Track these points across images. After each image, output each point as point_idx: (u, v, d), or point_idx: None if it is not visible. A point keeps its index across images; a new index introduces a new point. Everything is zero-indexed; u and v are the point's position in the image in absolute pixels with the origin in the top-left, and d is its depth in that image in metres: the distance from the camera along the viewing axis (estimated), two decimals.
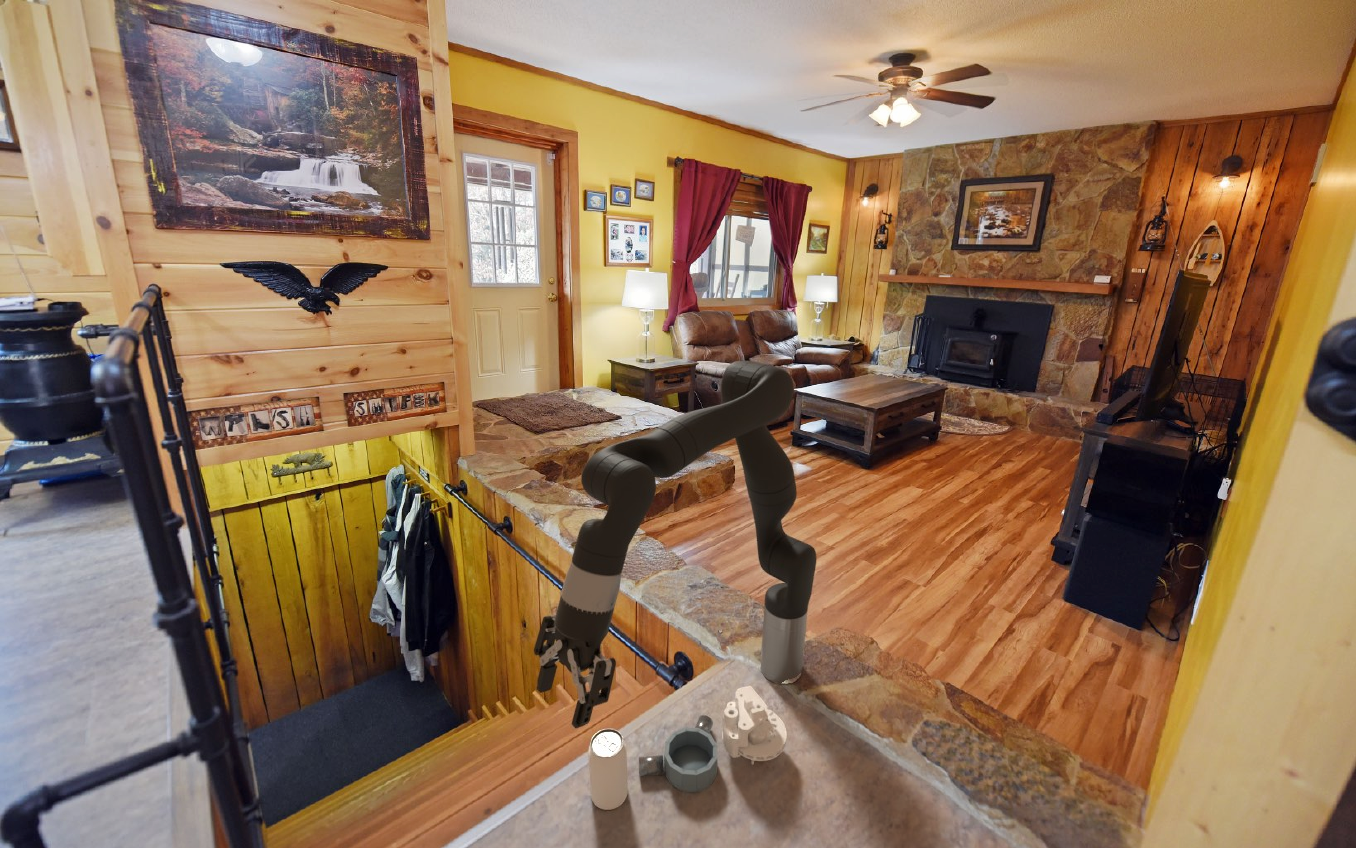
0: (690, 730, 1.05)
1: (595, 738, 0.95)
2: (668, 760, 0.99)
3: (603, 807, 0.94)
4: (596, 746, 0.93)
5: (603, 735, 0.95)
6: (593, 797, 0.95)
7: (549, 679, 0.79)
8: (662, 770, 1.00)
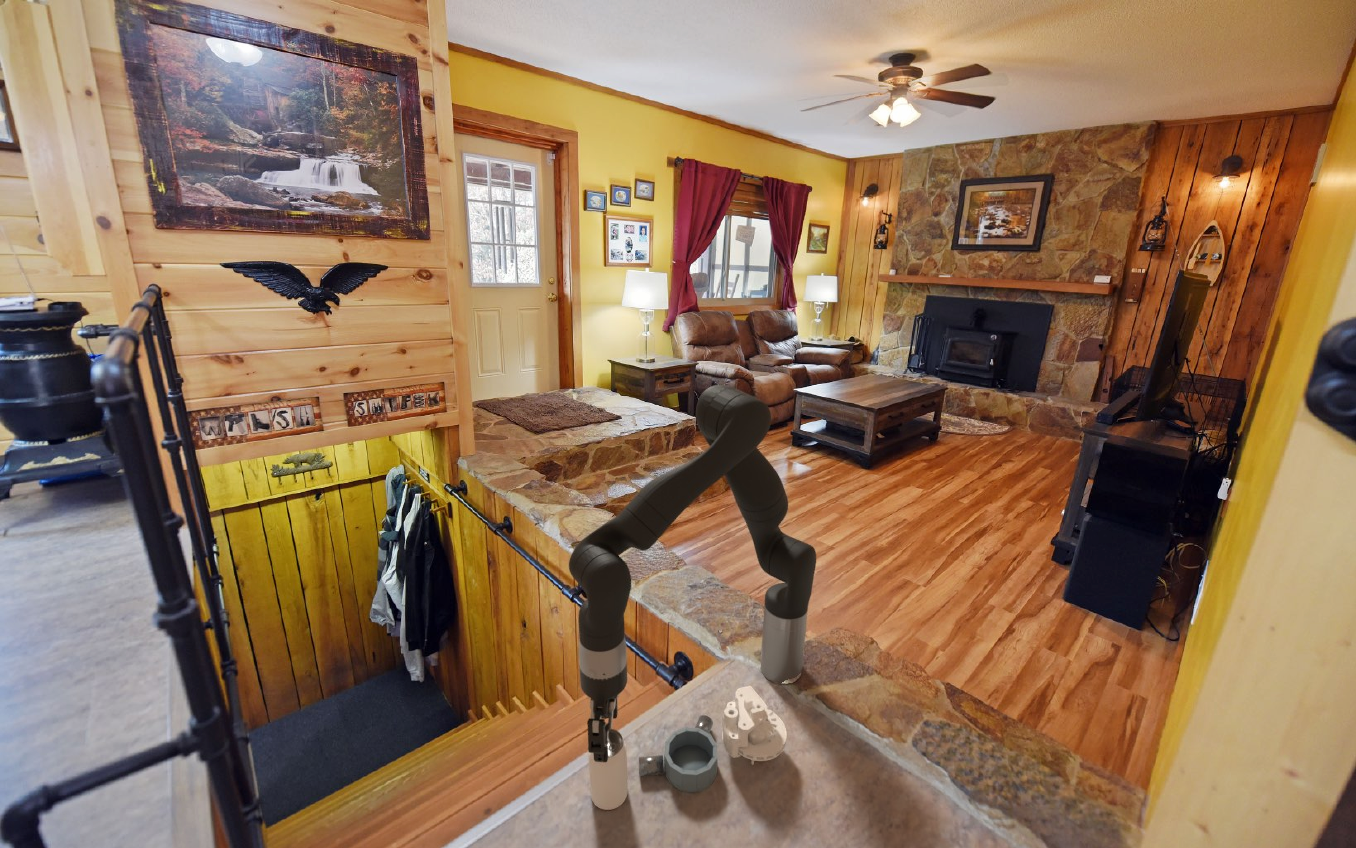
0: (690, 730, 1.05)
1: None
2: (668, 760, 0.99)
3: (603, 807, 0.94)
4: None
5: None
6: (593, 797, 0.95)
7: None
8: (662, 770, 1.00)
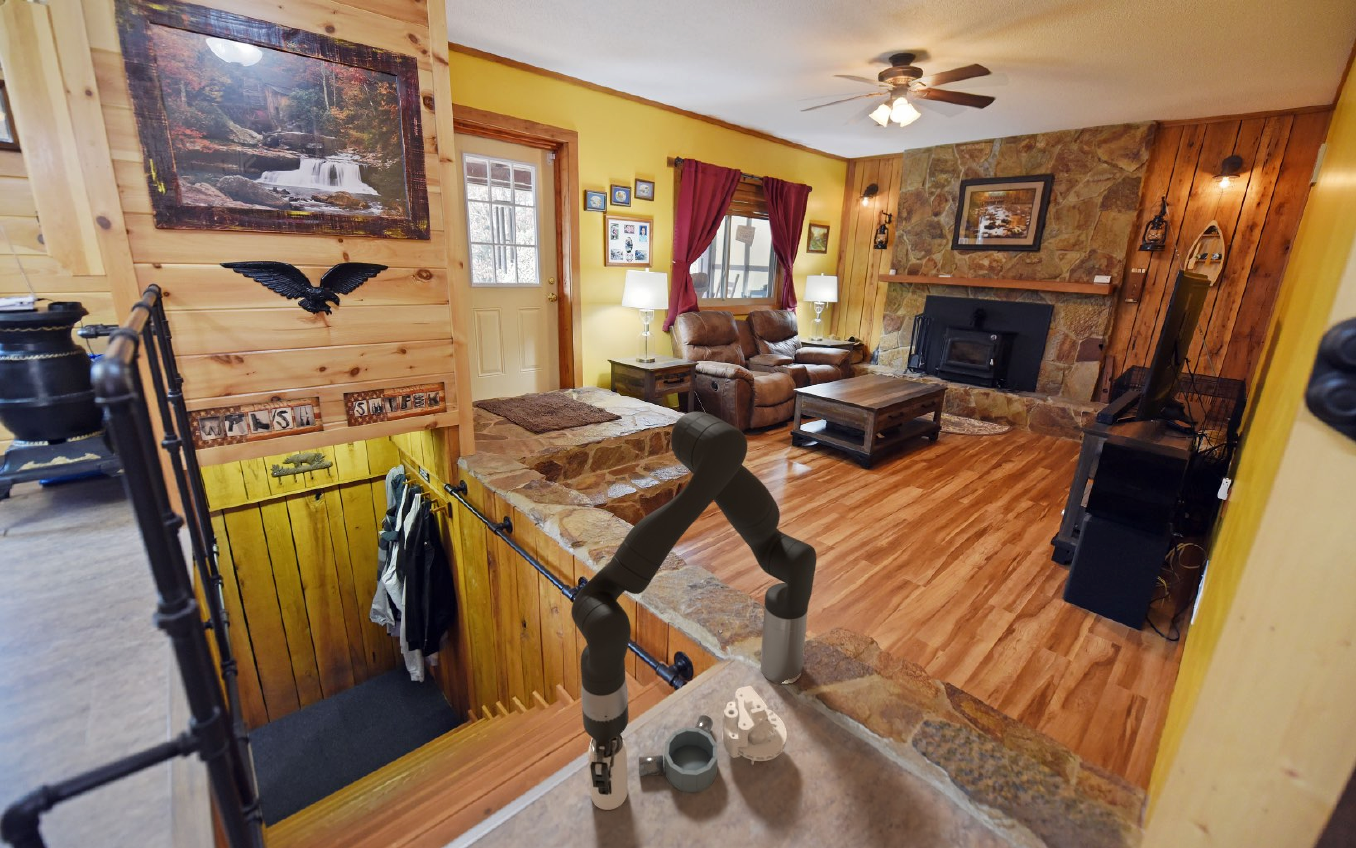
0: (690, 730, 1.05)
1: None
2: (668, 760, 0.99)
3: (603, 807, 0.94)
4: None
5: None
6: (593, 797, 0.95)
7: None
8: (662, 770, 1.00)
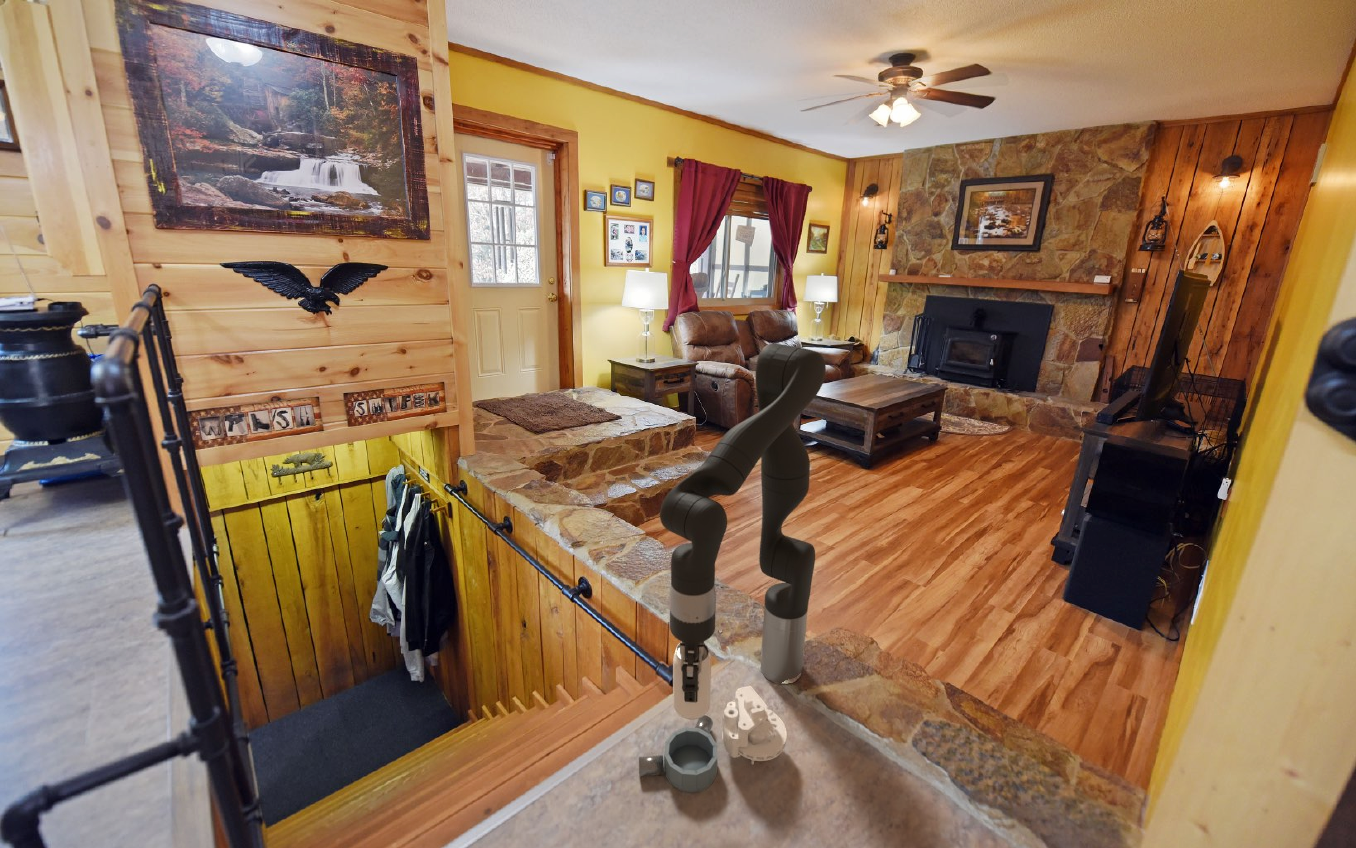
0: (690, 730, 1.05)
1: (679, 647, 0.94)
2: (668, 760, 0.99)
3: (688, 716, 0.94)
4: None
5: None
6: (677, 707, 0.95)
7: None
8: (662, 770, 1.00)
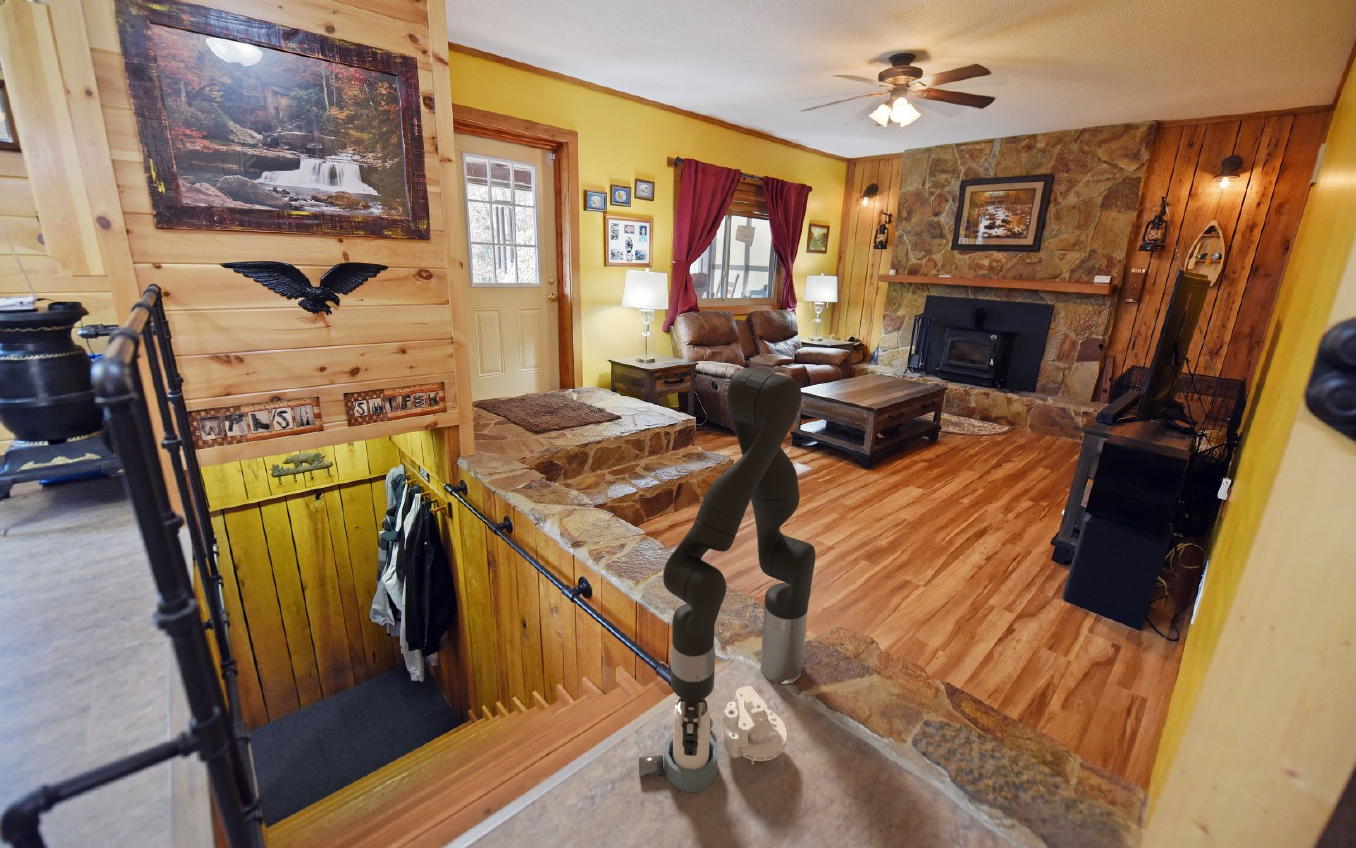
0: None
1: (679, 702, 0.98)
2: (668, 760, 0.99)
3: (687, 768, 0.97)
4: None
5: None
6: (677, 759, 0.98)
7: None
8: (662, 770, 1.00)
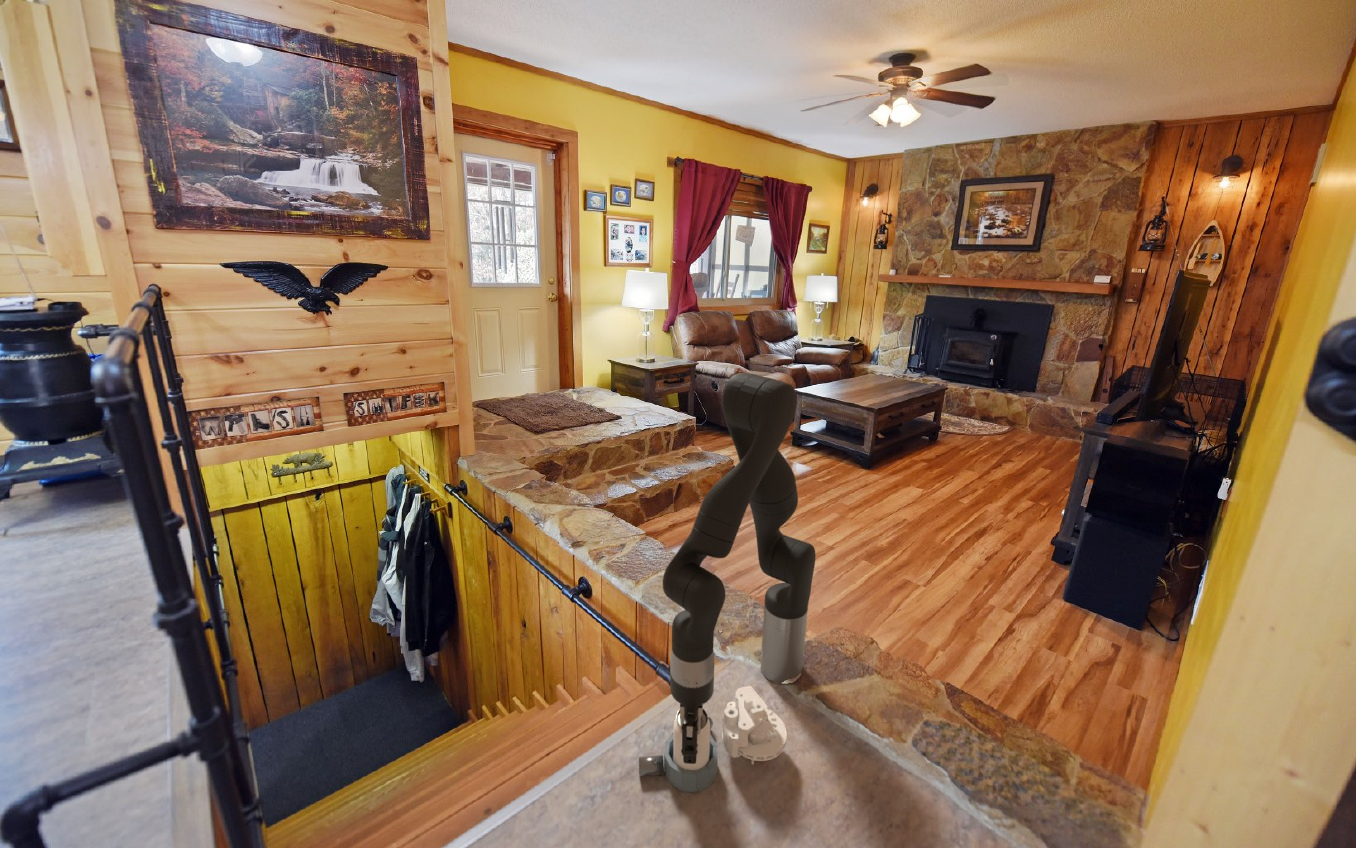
0: None
1: (679, 714, 0.98)
2: (668, 760, 0.99)
3: None
4: None
5: None
6: None
7: None
8: (662, 770, 1.00)
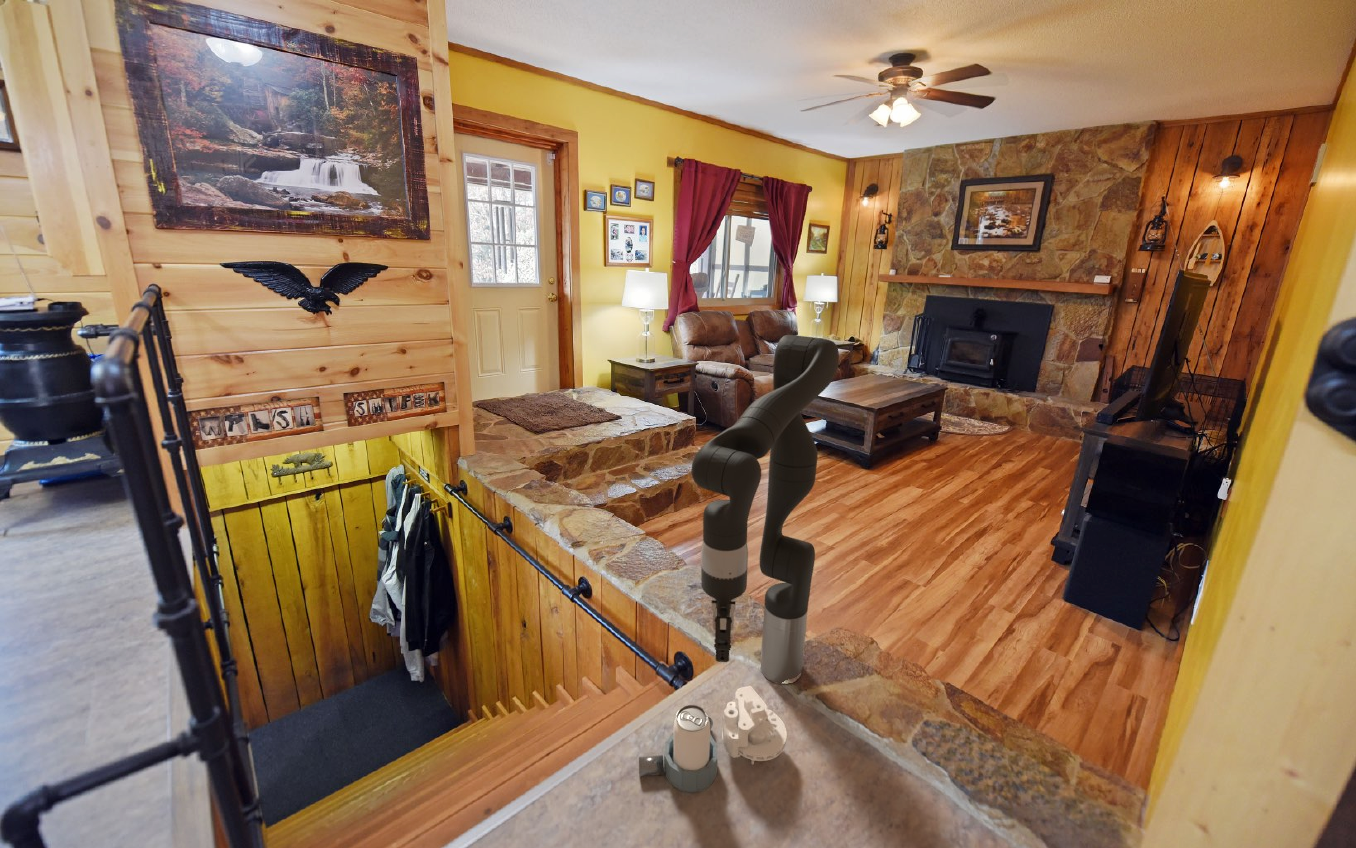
0: None
1: (679, 714, 0.98)
2: (668, 760, 0.99)
3: None
4: (682, 722, 0.97)
5: (686, 711, 0.99)
6: None
7: None
8: (662, 770, 1.00)
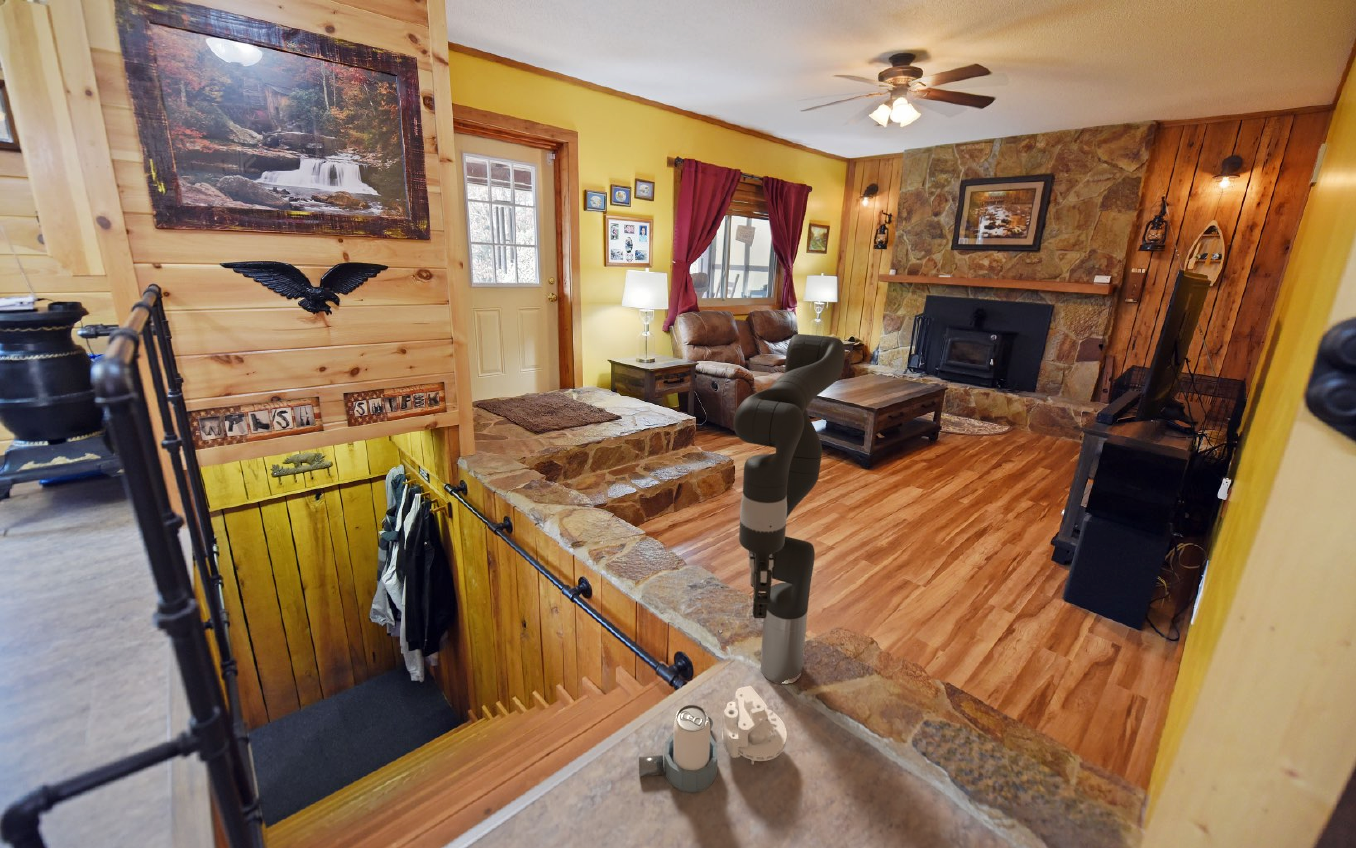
0: None
1: (679, 714, 0.98)
2: (668, 760, 0.99)
3: None
4: (682, 722, 0.97)
5: (686, 711, 0.99)
6: None
7: None
8: (662, 770, 1.00)
